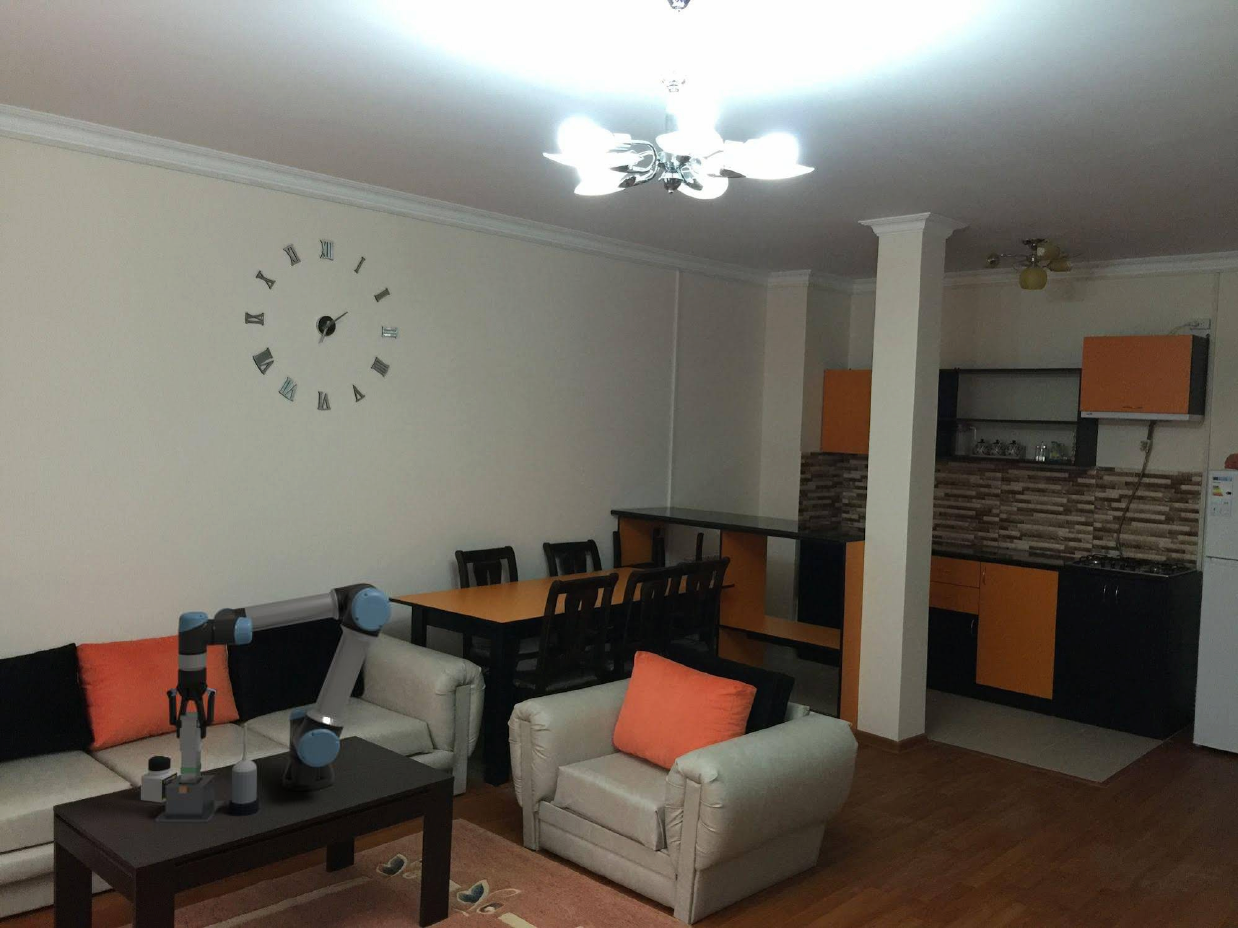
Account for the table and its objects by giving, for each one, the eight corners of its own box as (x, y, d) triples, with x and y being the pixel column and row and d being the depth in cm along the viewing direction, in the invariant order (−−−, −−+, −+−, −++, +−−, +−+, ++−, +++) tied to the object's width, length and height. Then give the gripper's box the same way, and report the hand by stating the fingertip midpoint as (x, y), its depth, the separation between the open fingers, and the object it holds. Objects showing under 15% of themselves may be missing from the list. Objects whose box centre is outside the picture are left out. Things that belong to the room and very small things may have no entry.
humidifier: (260, 804, 299) (262, 719, 298) (256, 815, 291) (258, 727, 290) (231, 805, 297) (232, 720, 296) (226, 816, 289) (227, 728, 288)
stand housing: (223, 803, 299) (224, 771, 298) (207, 822, 285) (207, 788, 284) (174, 803, 298) (174, 771, 297) (155, 821, 284) (155, 788, 283)
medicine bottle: (162, 802, 298) (162, 761, 297) (140, 800, 299) (140, 759, 299) (177, 794, 305) (178, 754, 304) (156, 791, 306) (156, 752, 306)
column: (201, 785, 293) (202, 711, 292) (196, 790, 289) (197, 716, 288) (185, 784, 293) (186, 711, 292) (179, 790, 288) (180, 715, 288)
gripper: (227, 664, 294) (226, 745, 295) (166, 663, 293) (165, 744, 294) (218, 671, 286) (217, 754, 287) (156, 670, 285) (155, 753, 286)
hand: (191, 749), depth 290 cm, fingers closed on column, 4 cm apart
